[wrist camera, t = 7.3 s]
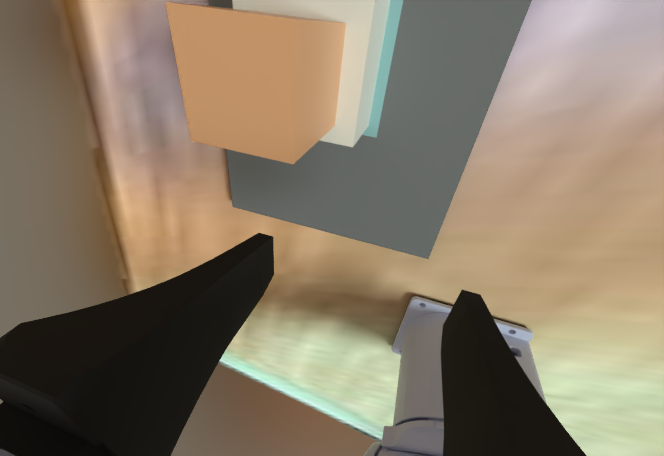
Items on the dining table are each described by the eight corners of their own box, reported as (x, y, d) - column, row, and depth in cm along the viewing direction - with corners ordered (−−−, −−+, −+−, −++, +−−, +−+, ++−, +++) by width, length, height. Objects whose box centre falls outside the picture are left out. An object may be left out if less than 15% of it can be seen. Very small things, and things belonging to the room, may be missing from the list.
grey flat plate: (528, -3, 13) (533, -5, 12) (428, 252, 22) (428, 259, 21) (213, -36, 16) (204, -39, 15) (237, 202, 25) (232, 206, 24)
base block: (390, -3, 14) (376, -12, 11) (368, 125, 17) (352, 147, 14) (274, -16, 15) (230, -28, 12) (275, 107, 18) (241, 124, 15)
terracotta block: (345, 22, 11) (297, 19, 7) (334, 125, 14) (293, 164, 10) (253, 10, 12) (165, 1, 8) (258, 110, 14) (191, 140, 11)
